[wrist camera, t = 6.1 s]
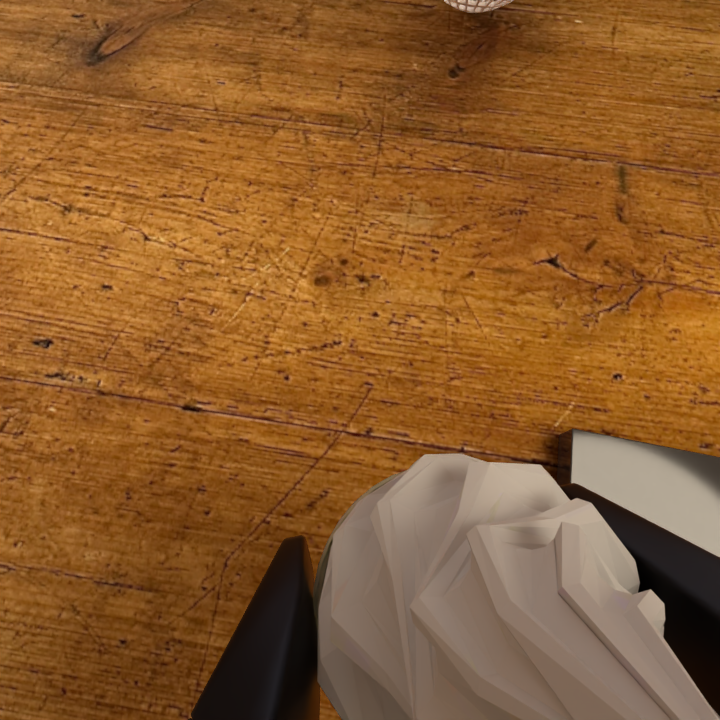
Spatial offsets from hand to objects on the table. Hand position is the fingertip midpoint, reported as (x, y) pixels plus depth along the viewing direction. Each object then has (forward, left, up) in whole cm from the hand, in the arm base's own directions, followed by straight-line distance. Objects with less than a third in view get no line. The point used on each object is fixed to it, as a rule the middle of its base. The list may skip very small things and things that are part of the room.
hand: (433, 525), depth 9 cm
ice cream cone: (-1, -1, -8) cm, 8 cm away
